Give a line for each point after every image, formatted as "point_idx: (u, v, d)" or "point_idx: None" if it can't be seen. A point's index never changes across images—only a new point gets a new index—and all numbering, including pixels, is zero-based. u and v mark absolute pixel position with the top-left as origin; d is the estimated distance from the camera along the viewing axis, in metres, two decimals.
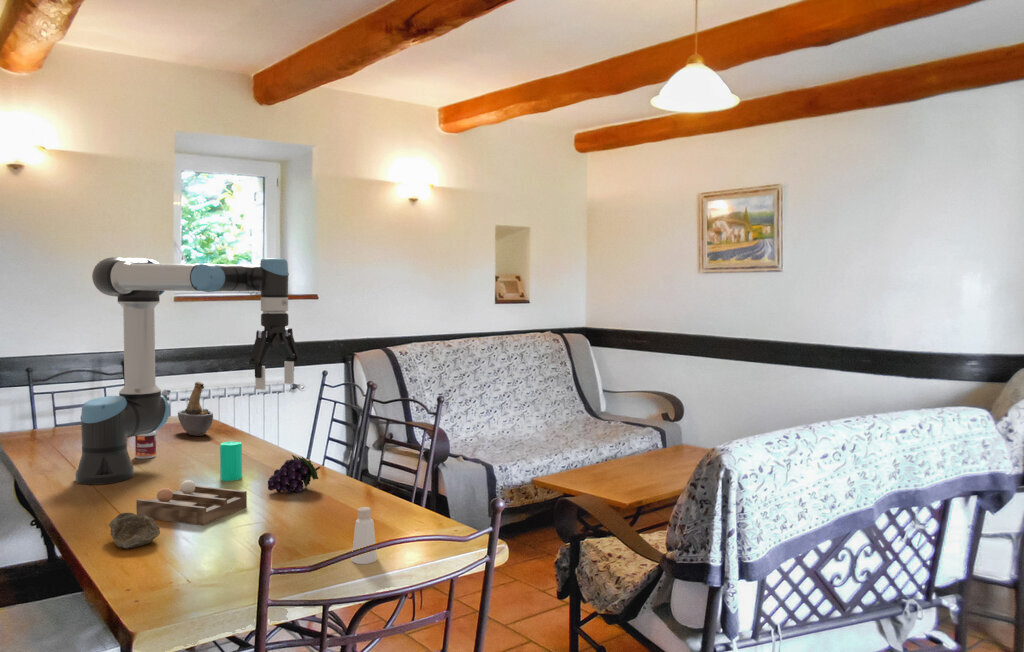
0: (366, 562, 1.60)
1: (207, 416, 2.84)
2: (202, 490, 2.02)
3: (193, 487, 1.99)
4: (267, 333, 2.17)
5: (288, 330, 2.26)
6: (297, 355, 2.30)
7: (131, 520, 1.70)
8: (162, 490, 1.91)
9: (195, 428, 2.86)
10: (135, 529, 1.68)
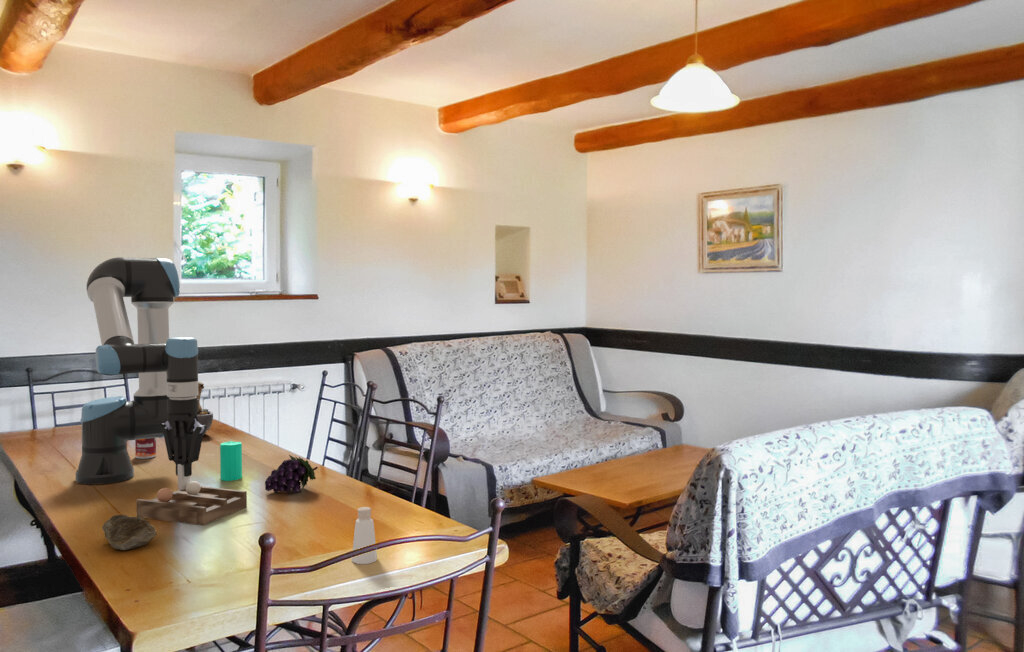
0: (366, 562, 1.60)
1: (207, 416, 2.84)
2: (202, 490, 2.02)
3: None
4: (168, 422, 1.99)
5: (197, 427, 1.96)
6: (190, 458, 1.97)
7: (126, 522, 1.69)
8: (162, 490, 1.91)
9: None
10: (132, 530, 1.67)
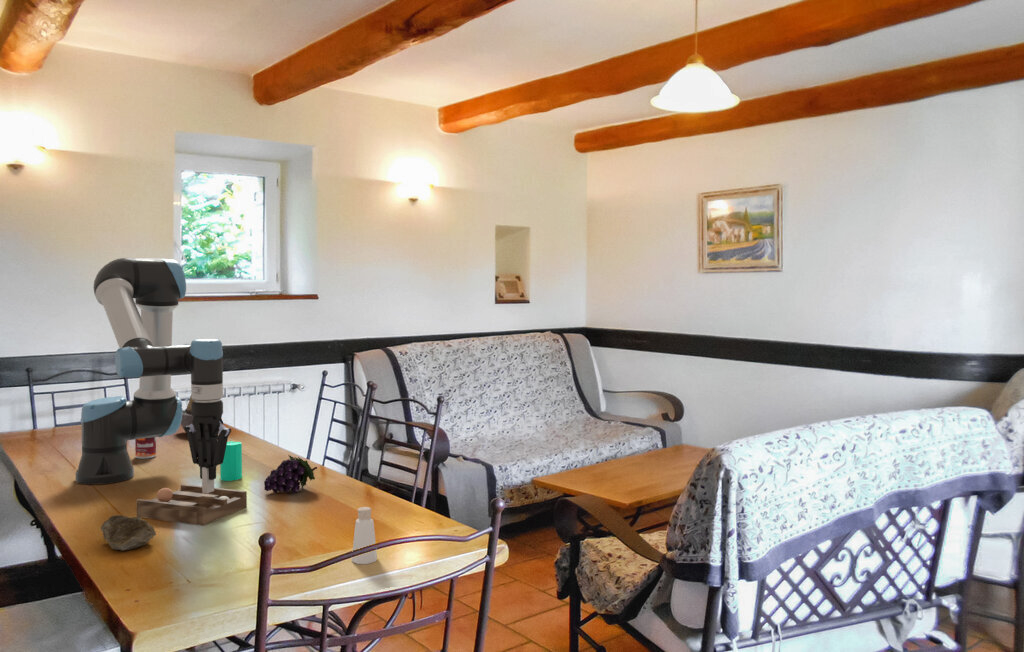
0: (366, 562, 1.60)
1: None
2: None
3: None
4: (192, 425, 1.97)
5: (222, 429, 1.94)
6: (214, 462, 1.95)
7: (125, 522, 1.69)
8: (162, 490, 1.91)
9: None
10: (132, 531, 1.67)
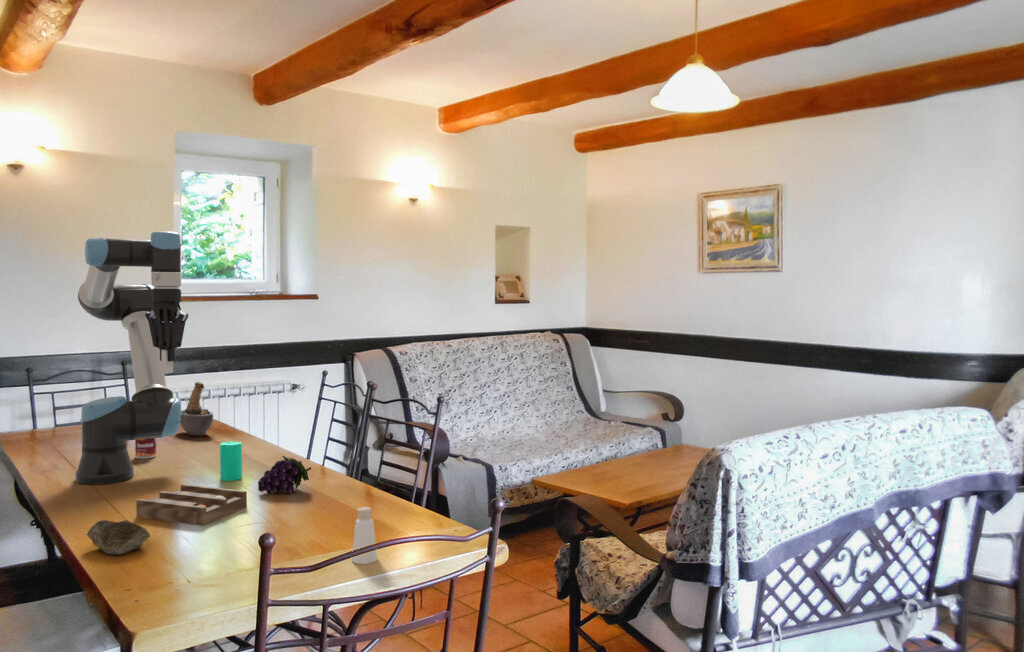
0: (366, 562, 1.60)
1: (207, 416, 2.84)
2: (202, 490, 2.02)
3: None
4: (153, 311, 2.14)
5: None
6: (173, 344, 2.12)
7: (117, 526, 1.66)
8: None
9: (195, 428, 2.86)
10: (127, 534, 1.64)
